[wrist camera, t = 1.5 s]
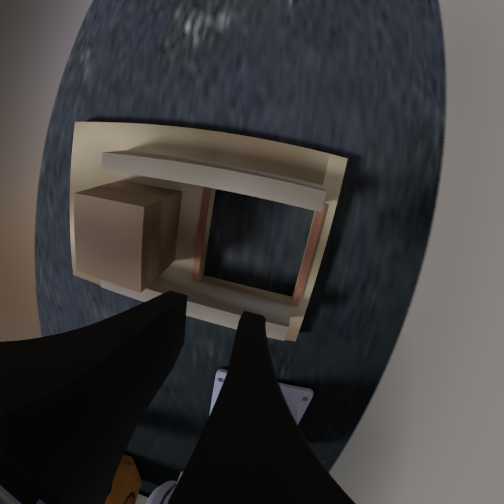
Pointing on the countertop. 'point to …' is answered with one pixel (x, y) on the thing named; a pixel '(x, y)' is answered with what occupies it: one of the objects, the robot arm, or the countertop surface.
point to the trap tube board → (201, 206)
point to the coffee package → (125, 483)
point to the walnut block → (126, 232)
